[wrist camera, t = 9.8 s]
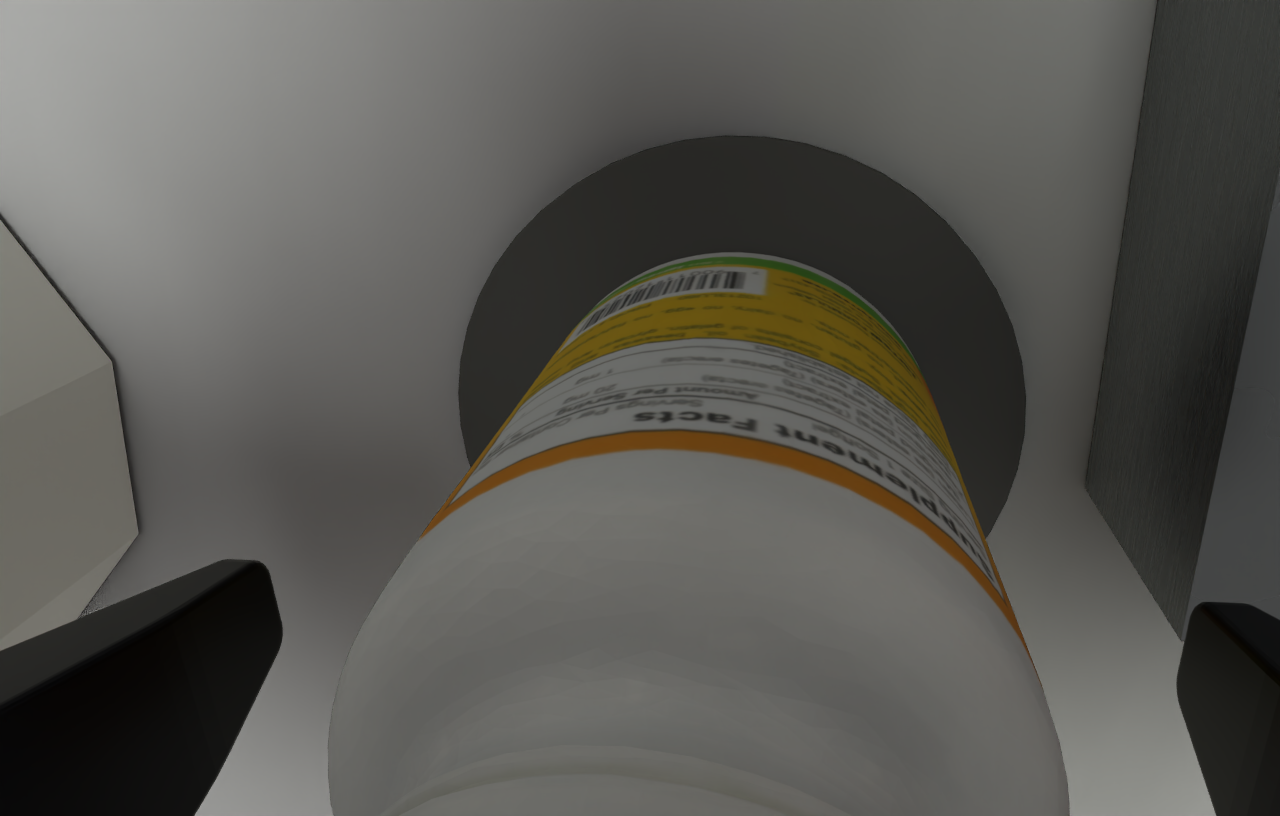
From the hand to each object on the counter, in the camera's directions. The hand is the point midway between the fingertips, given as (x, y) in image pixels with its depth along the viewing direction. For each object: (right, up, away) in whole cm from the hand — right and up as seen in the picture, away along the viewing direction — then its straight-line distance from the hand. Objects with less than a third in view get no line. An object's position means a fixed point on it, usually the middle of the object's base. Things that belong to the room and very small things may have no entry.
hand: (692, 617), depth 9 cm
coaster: (+1, +2, +4) cm, 5 cm away
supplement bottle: (+1, +2, +4) cm, 5 cm away
